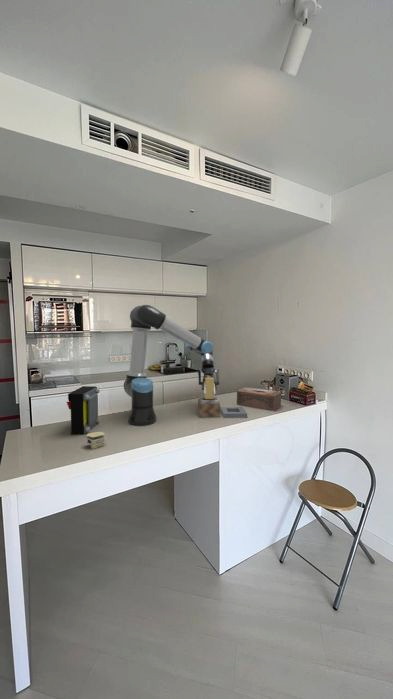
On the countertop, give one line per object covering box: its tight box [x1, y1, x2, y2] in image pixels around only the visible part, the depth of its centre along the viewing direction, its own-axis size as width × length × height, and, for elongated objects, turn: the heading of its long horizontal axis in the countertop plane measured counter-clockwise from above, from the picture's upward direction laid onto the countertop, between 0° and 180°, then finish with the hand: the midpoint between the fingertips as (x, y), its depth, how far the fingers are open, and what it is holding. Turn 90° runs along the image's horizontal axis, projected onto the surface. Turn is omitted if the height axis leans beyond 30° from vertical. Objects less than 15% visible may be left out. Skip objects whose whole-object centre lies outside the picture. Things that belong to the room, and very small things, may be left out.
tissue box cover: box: [236, 386, 282, 412], centre depth 196 cm, size 26×14×10 cm, turn 57°
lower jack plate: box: [220, 406, 248, 419], centre depth 176 cm, size 14×14×2 cm
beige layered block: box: [86, 431, 106, 450], centre depth 127 cm, size 10×9×6 cm
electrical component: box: [66, 385, 101, 436], centre depth 148 cm, size 18×10×20 cm, turn 179°
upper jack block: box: [197, 396, 221, 419], centre depth 175 cm, size 12×12×10 cm
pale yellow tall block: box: [203, 377, 215, 399], centre depth 174 cm, size 5×5×12 cm
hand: (209, 394), depth 170 cm, fingers closed on pale yellow tall block, 5 cm apart
